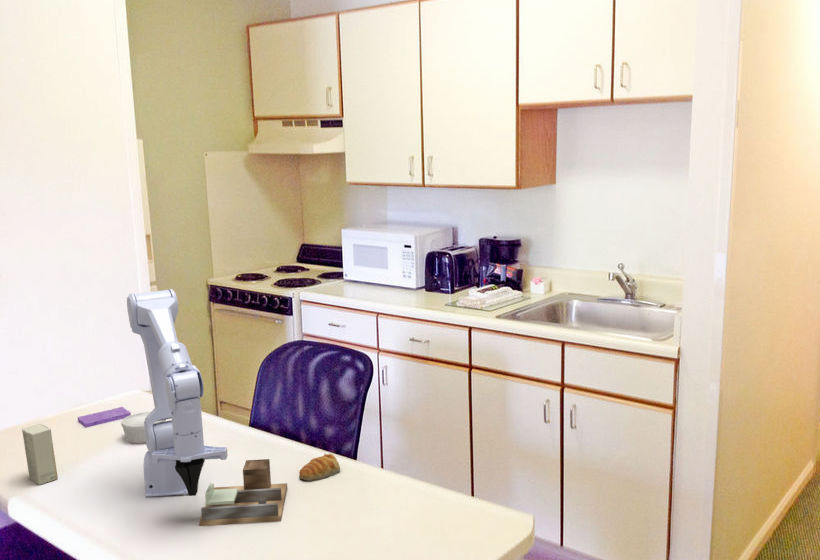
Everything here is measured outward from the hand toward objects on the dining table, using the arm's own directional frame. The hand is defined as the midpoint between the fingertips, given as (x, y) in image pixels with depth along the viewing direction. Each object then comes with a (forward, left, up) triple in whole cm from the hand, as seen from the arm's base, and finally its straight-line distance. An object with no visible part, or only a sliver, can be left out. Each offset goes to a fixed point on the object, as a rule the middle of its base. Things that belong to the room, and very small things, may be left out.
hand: (193, 493), depth 152 cm
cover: (+6, 0, -1) cm, 6 cm away
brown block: (+12, +8, -4) cm, 15 cm away
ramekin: (-22, +46, -5) cm, 51 cm away
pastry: (+25, +18, -6) cm, 31 cm away
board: (+10, +4, -5) cm, 11 cm away
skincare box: (-39, +23, -5) cm, 46 cm away
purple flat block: (-38, +62, -6) cm, 73 cm away
